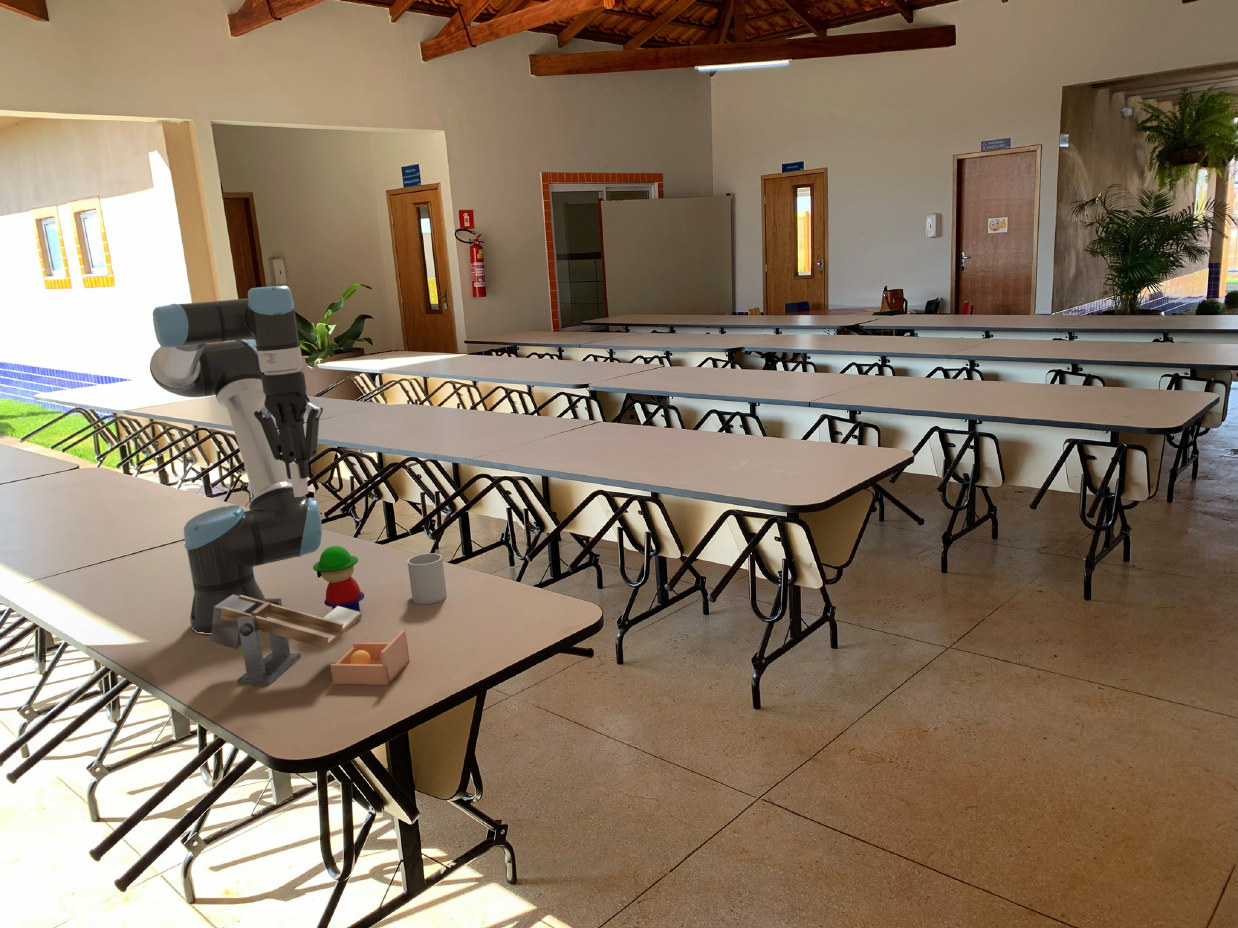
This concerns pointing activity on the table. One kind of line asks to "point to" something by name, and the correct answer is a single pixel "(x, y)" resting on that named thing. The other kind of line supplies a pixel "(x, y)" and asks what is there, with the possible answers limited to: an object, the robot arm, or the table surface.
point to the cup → (427, 578)
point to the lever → (278, 622)
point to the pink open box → (373, 663)
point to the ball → (360, 657)
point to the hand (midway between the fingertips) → (301, 494)
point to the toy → (339, 578)
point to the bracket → (255, 665)
